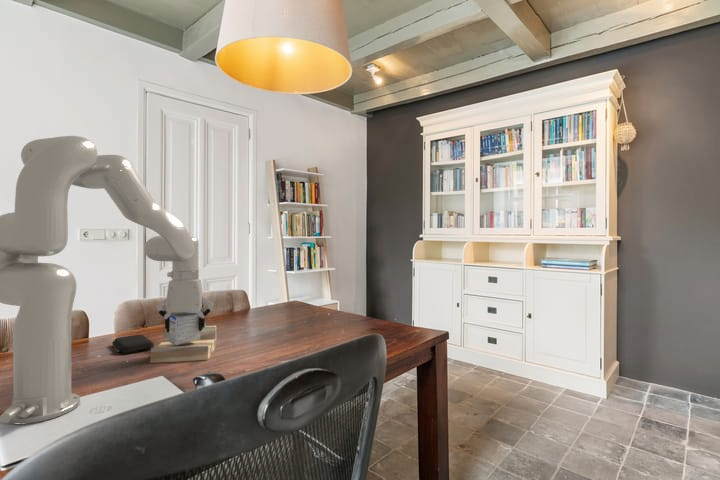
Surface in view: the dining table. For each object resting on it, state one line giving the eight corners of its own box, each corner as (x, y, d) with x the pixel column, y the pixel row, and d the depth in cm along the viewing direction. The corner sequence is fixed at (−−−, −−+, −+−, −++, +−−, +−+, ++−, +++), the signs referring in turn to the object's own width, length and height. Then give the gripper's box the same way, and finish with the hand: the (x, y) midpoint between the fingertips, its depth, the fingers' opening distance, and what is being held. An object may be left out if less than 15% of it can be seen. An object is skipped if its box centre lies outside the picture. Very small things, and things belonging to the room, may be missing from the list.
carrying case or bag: (107, 347, 126) (117, 357, 115) (107, 338, 126) (117, 348, 115) (143, 341, 133) (155, 350, 123) (143, 332, 133) (155, 341, 123)
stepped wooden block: (207, 359, 113) (208, 336, 113) (150, 362, 110) (150, 339, 110) (216, 346, 127) (216, 325, 127) (165, 348, 124) (165, 327, 124)
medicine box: (193, 337, 123) (193, 311, 123) (200, 340, 120) (200, 313, 120) (168, 342, 116) (169, 314, 116) (175, 345, 114) (176, 316, 114)
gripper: (151, 277, 113) (151, 334, 113) (212, 277, 116) (212, 332, 116) (159, 274, 120) (159, 328, 120) (216, 274, 124) (216, 326, 124)
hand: (185, 330), depth 118 cm, fingers closed on medicine box, 8 cm apart
